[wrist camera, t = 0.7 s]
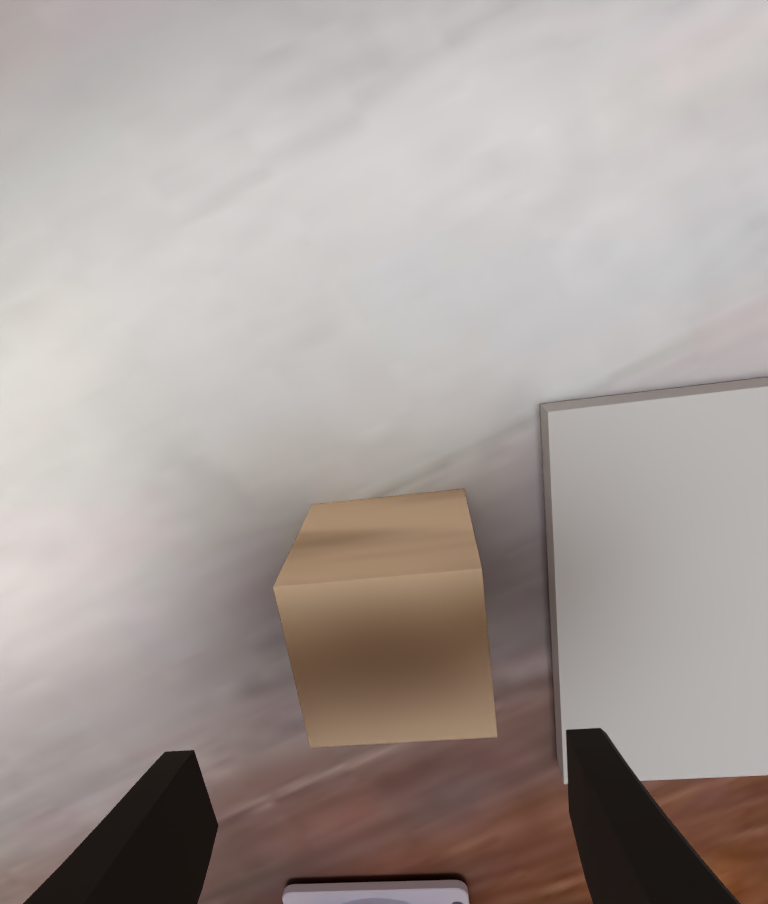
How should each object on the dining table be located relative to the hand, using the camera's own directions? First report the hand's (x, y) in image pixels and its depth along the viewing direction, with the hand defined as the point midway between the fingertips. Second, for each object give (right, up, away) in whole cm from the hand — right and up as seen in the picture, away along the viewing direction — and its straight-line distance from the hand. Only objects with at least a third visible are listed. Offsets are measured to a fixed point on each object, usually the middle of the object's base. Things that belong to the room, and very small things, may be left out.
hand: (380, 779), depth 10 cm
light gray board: (+13, +2, +7) cm, 15 cm away
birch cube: (+1, +2, +8) cm, 8 cm away
